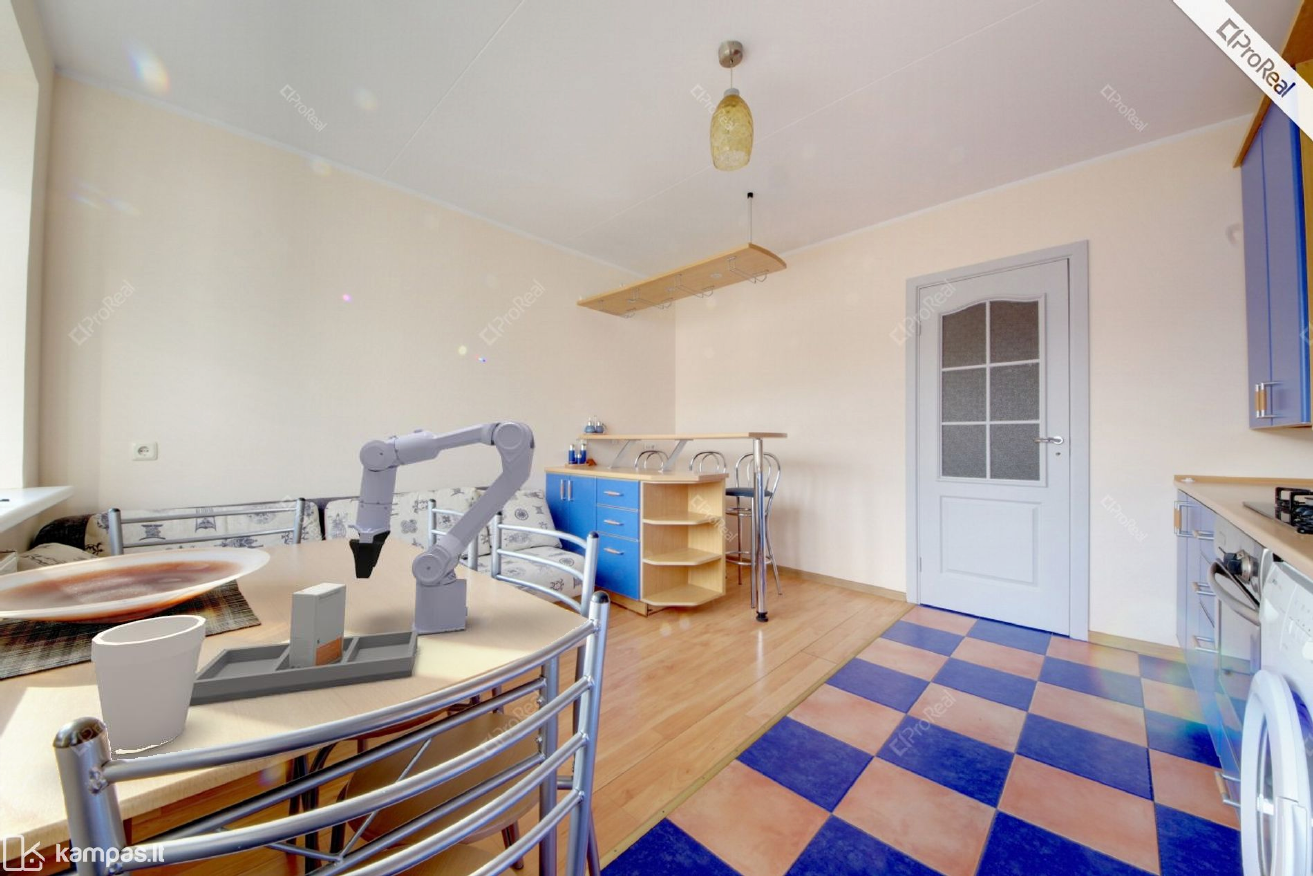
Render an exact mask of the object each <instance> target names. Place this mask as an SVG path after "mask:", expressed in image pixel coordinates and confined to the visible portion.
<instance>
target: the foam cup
mask: <svg viewBox="0 0 1313 876" xmlns="http://www.w3.org/2000/svg"><path fill="white" fill-rule="evenodd" d="M206 625H207V619H206V618H204V617H203V616H201V615H191V614H190V615H189V614H181V615H180V614H178V615H169V616H168V615H165V616H159V617H154V618H147V619H142V620H136V621H133V622H132V621H131V622H128V623H125V624H121V625H117V626H114V627H112V628H111V627H110V628H109V629H106V630H104V631H102V632H99V633H97V635H95V636H94V637H93V638H92V639H91V648H90V649H91V651H90V652H91V654H90V655H91V656H90V661H91V662H92V663H93V664H94V672H95V676H96V684H97V690H98V697H99V702H100V708H101V716H102V721H103V724H104V723H105V724H106V728H107V732H108V739H109V741H110V747H111V752H112V754H111V755H117V754H116V752H115V751H116V750H119V749H122V750H137V749H142V748H146V747H148V746H151V745H160V744H161V743H164V742H166V741H169V740H171V739H173V738H174V737H176V736H177V735H178V736H180V735H181V734H183V732H184V730H185V724H186V723H187V717H188V714H189V708H190V706H189V704H190V699H191V694H192V690H193V685H194V680H195V675H196V674H197V670H198V664H199V660H200V654H201V651H202V650H201V649H202V645H203V643H204V641H205V638H206V630H207V629H206V627H207V626H206ZM179 734H180V735H179ZM178 736H177V737H178ZM177 737H176V738H177ZM174 739H175V738H174ZM174 739H173V740H174ZM171 741H172V740H171ZM169 742H170V741H169ZM160 746H161V745H160ZM111 752H110V753H111ZM121 755H122V756H125V755H124V754H121ZM121 755H120V756H121Z"/></svg>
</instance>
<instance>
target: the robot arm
mask: <svg viewBox="0 0 1313 876" xmlns="http://www.w3.org/2000/svg"><path fill="white" fill-rule="evenodd" d="M479 443H480V444H484V445H486V446H489V447H494V446H495V447H496V450H497V452H498V454H499V455H500V459H501V467H502V473H500V475H499V476H498V477H497V478H496V479H495V480H494V481H493V482H492V483H491V485H490V486H489V487H487V489H485V491H484V492H483V493H482V495H480V497H479V498H477V500H476V501H475V502H474V503H473V504H472V505H471V506H470V507H469V508H468V510H467V511H466V512H465V513H464V514H463V515H462V516H461V517H460V518H459V519H458V520H457V522H455V524H454V525H453V526H452V527H451V528H450V529H449V530H448V532H446V533H445V535H443V536H442V537H441V538H440V539H439V540H438V541H437V542H435V544H433V546H432V547H431V548H429V549H427V550H424V551H423V552H420V553H419V554H418V555H417V556H416V557H414V560H413V561H412V564H411V572H412V575H413V577H414V579H415V600H414V601H415V604H414V619H413V621H412V625H411V629H410V630H418V635H427V634H435V633H436V634H437V633H445V631H447V632H456V631H455V630H457V631H460V630H459V629H464V630H466V617H468V611H469V609H468V606H467V585H468V584H467V581H468V580H467V578H457V573H456V572H455V569H456V567H458V565H459V563H460V560H461V558H462V555H463V553H464V552H465V551H466V550H467V548H468V547H469V545H470V544H471V543H472V542H473V541H474V540H475V539H476V538H477V536H479V534H480V533H481V532H482V531H483V529H484V528H485V527H486V526H487V525H488V524H489V523H490V522H491V521H492V520H493V518H494V517H496V515H498V514H499V512H500V511H501V510H502V509H503V508H504V507H505V505H506V504H507V503H509V501H510V500H511V499H512V498H513V496H515V494H516V493H517V492H518V491H519V490H520V489H521V488H522V487H523V485H524V484H525V483H526V482H527V481H528V480H529V479H530V476H531V472H532V471H531V470H532V466H533V458H534V453H535V449H536V442H535V438H534V433H533V430H532V429H531V427H530V426H529V425H528V424H525V423H523V422H518V421H515V420H505V421H503V422H501V421H499V422H497V421H496V422H495V421H494V422H486V423H479V424H475V425H472V426H467V427H463V428H459V429H456V430H451V431H448V432H444V433H440V434H435V433H434V432H432V431H431V430H428V429H427V430H424V429H422V428H417V429H413V433H409V434H405V435H400V436H397V435H396V434H393V435H389V436H388V439H387V440H382V439H373V440H371V441H369V442H366V443H365V444H364V445H363V446H362V447H361V449H360V450H359V460H360V463H361V465H362V466H363V468H362V469H363V470H362V477H361V483H360V490H359V496H358V497H359V498H358V505H357V512H356V519H355V522H349V523H348V524H347V528H348V529H353V530H355V531H356V532H357V534H358V537H359V538H351V539H350V540H349V542H348V545H349V549H351V552H352V555H353V559H354V570H355V577H356V579H367V580H368V579H370V577H371V575H372V574H373V573H372V572H373V569H374V568H376V566H377V564H378V561H379V558H380V555H381V552H382V549H383V546H384V545H385V544H386V540H387V538H388V536H390V534H391V533H392V531H391V524H390V523H391V519H392V518H391V516H392V509H393V502H394V495H395V486H396V482H397V481H396V478H397V473H398V468H399V467H402V466H408V465H411V464H417V463H421V462H425V461H426V462H427V461H430V460H435V459H436V458H437V457H438V456H439V454H440V453H441V451H443V450H449V449H454V448H459V447H464V446H470V445H471V446H472V445H475V444H479Z"/></svg>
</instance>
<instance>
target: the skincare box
mask: <svg viewBox="0 0 1313 876" xmlns="http://www.w3.org/2000/svg"><path fill="white" fill-rule="evenodd" d="M346 596H347V584H343V583H342V584H341V583H333V582H332V583H329V582H322V583H319V584H317V585H313V586H310V587H307V588H305V589H302V590H299V591H295V592H293V593H292V595H291V597H292V598H291V615H290V632H289V633H290V634H289V635H290V636H289V643H290V650H289V669H295V668H304V667H312V666H321V665H329V664H333V663H335V662H337V661H340V660H341V659H342V658H343V640H344V637H345V634H344V633H345V621H346V620H345V616H346V614H345V613H346V599H347V598H346Z"/></svg>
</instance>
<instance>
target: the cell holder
mask: <svg viewBox="0 0 1313 876" xmlns="http://www.w3.org/2000/svg"><path fill="white" fill-rule="evenodd" d="M418 636H419V634H418V630H411V629H410V630H400V631H398V630H397V631H389V632H380V633H371V634H370V633H369V634H360V635H350V636H344V640H343V658H342V659H341V660H340V661H337V662H335V663H333V664H329V665H321V666H312V667H304V668H295V669H289V650H290V642H282V643H281V642H280V643H273V644H272V643H271V644H263V645H260V644H259V645H252V646H241V647H233V648H224V649H223V650H222V651H220V652H219V653H217V655H216V656H214V658H212V659H211V660H210V661H209V662H208V663H207V664H206V665H205V666H203V667H202V668H201V669H200V670H199V671H197V672H196V675H195V680H194V685H193V690H192V694H191V699H190V704H189V707H191V706H197V705H198V706H199V705H206V704H212V703H221V702H229V701H234V700H235V701H236V700H242V699H243V700H244V699H249V698H250V699H251V698H259V697H265V696H274V695H281V694H288V693H289V694H290V693H295V692H303V691H304V692H305V691H310V690H311V691H312V690H319V689H327V688H334V687H340V686H349V685H356V684H364V683H370V682H378V681H385V680H388V681H389V680H395V679H401V678H403V679H404V678H410V677H412V672H413V669H414V663H415V660H416V659H415V658H416V655H417V650H416V649H418ZM415 654H416V655H415Z"/></svg>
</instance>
